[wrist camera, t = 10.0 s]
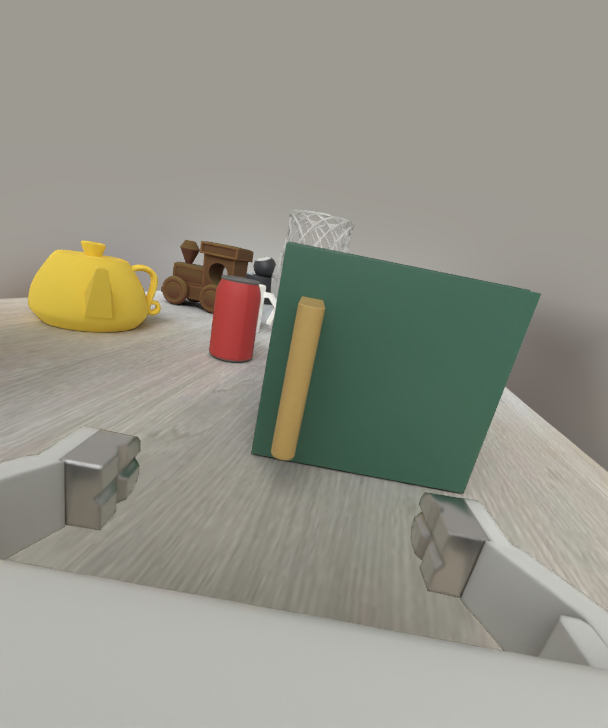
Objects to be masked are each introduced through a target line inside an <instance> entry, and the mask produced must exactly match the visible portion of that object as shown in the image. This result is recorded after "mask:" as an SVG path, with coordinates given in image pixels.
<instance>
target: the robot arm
mask: <svg viewBox="0 0 608 728" xmlns="http://www.w3.org/2000/svg"><path fill="white" fill-rule="evenodd" d="M140 442H141V441H140V439H139V438H138V437H136V436H131V435H126V434H122V433H117V432H112V431H107V430H102V429H98V428H93V427H87V426H84V427H80V428H78V429H77V430H75V431H74V432H72V433H71V434H69V435H68V436H66V437H64V438H63V439H61V440H60V441H58V442H57V443H55V444H54V445H52V446H51V447H49V448H48V449H46V450H45V451H43V452H42V453H40V454H39V455H37V456H35V455H27V456H24V457H20V458H16V459H12V460H8V461H4V462H0V728H608V611H607V610H605V609H604V608H603V607H601V606H600V605H598V604H597V603H596V602H594V601H593V600H591V599H590V598H589V597H587V596H586V595H584V594H583V593H582V592H580V591H579V590H578V589H576V588H575V587H573V586H572V585H571V584H569V583H568V582H566V581H565V580H564V579H562V578H561V577H559V576H558V575H557V574H555V573H554V572H553V571H551V570H550V569H548V568H547V567H546V566H544V565H543V564H541V563H540V562H539V561H537V560H536V559H534V558H533V557H532V556H530V555H529V554H527V553H526V552H525V551H523V550H522V549H521V548H519V547H518V546H513V545H511V543H510V542H509V541H508V539H507V538H506V536H505V535H504V533H503V532H502V531H501V529H500V528H499V526H498V525H497V524H496V522H495V521H494V519H493V518H492V517H491V515H490V514H489V512H488V511H487V510H486V508H485V507H484V505H483V504H482V503H481V502H479V501H477V500H470V499H464V498H456V497H450V496H444V495H438V494H432V493H426V492H425V493H424V494H423V496H422V497H421V500H420V503H419V505H420V508H421V510H422V512H421V513H419V514H418V515H417V516H415V517H414V520H413V524H412V527H411V542H412V547H413V550H414V553H415V554H416V555H417V556H418V557H419V558H420V559H421V560H422V562H421V565H420V567H419V568H420V571H421V574H422V577H423V579H424V582H425V585H426V588H427V591H430V592H435V593H440V594H444V595H449V596H453V597H458V598H461V599H460V600H461V601H462V602H463V603H464V605H465V606H466V607H467V608H468V609H469V611H470V612H471V613H472V614H473V615H474V616H475V618H476V619H477V620H478V621H479V622H480V624H481V625H482V626H483V627H484V628H485V629H486V631H487V632H488V633H489V634H490V635H491V637H492V638H493V639H494V640H495V641H496V642H497V644H498V645H499V646H500V647H501V648H502V650H503V651H502V650H497V649H491V648H485V647H480V646H474V645H468V644H463V643H458V642H452V641H447V640H441V639H436V638H431V637H425V636H420V635H414V634H409V633H403V632H398V631H393V630H387V629H382V628H376V627H371V626H365V625H360V624H355V623H349V622H344V621H338V620H333V619H327V618H322V617H317V616H311V615H306V614H300V613H295V612H289V611H283V610H278V609H272V608H267V607H261V606H256V605H250V604H245V603H239V602H234V601H228V600H223V599H217V598H212V597H206V596H201V595H195V594H190V593H184V592H178V591H173V590H167V589H162V588H157V587H151V586H146V585H140V584H135V583H129V582H124V581H118V580H113V579H107V578H102V577H96V576H91V575H85V574H80V573H74V572H69V571H63V570H58V569H53V568H47V567H42V566H36V565H31V564H25V563H20V562H14V561H9V560H5V559H6V558H8V557H10V556H12V555H14V554H16V553H18V552H19V551H21V550H23V549H25V548H27V547H29V546H30V545H32V544H34V543H36V542H38V541H40V540H42V539H43V538H45V537H47V536H49V535H51V534H53V533H54V532H56V531H58V530H60V529H62V528H64V527H65V525H69V526H76V527H82V528H89V529H95V530H101V529H102V528H103V526H104V525H105V524H106V523H107V522H108V520H109V519H110V518H111V517H112V516H113V514H114V513H115V512H116V504H117V503H119V502H121V501H123V500H126V499H127V497H128V496H129V495H130V494H131V492H132V491H133V488H134V486H135V484H136V482H137V479H138V475H139V464H138V462H137V460H136V459H135V456H136V455H137V454H138V453H139V452H140Z"/></svg>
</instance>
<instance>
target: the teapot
mask: <svg viewBox="0 0 608 728" xmlns="http://www.w3.org/2000/svg"><path fill="white" fill-rule="evenodd" d="M81 245H82V247H83V250H84V252H78V251H69V250H56V251H54V252H53V254H51V255H50V256H49V257H48V259H47V260H46V261H45V262H44V264H43V265H42V266H41V268H40V269H39V270H38V272H37V273H36V275H35V277H34V279H33V281H32V283H31V287H30V290H29V295H28V305H29V307H30V309H31V310H32V311H33V312H34V313H35V314H36V315H37V316H38V317H39V318H40V319H41V320H42V321H43V322H45V323H46V324H49V325H52V326H55V327H59V328H64V329H69V330H77V331H88V332H119V331H127V330H131V329H134V328H136V327H137V326H138V325H139V324H141V323H142V322H143V321H144V320H145V318H146V317H147V315H156V314H158V313H159V312H160V310H161V307H160V304H159V302H157V301H154V300H153V297H154V295H155V292H156V289H157V285H158V279H157V275H156V273H155V272H154V271H153V270H152V269H150V268H149V267H147V266H144V265H134V266H130V264H129V263H128V262H127V261H126V260H123V259H119V258H115V257H110V256H104V255H102V254H103V252H104V250H105V247H106V246H105V245H104V244H101V243H97V242H91V241H81ZM135 271H145V272H147V273H148V274H149V275H150V277H151V284H150V288H149V291H148V293H147V296H146V295H145V292H144V289H143V287H142V285H141V283H140V281H139V279H138V277H137V275H136V274H135ZM152 300H153V301H152ZM151 304H154V305H155V306H156V307H155V309H153V310H151V309H150V306H151Z"/></svg>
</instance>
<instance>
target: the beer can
mask: <svg viewBox="0 0 608 728" xmlns="http://www.w3.org/2000/svg"><path fill="white" fill-rule="evenodd" d="M221 277H222V279H221V281H220V282H219V284H218V286H217V289H216V296H215V304H214V313H213V322H212V331H211V339H210V348H209V351H210V353H211V355H212V356H214V357H215V358H217V359H220V360H223V361H228V362H245V361H248V360H249V359H251V358H252V354H253V348H254V341H255V335H256V328H257V322H258V315H259V309H260V302H261V291H260V287H259V284H260V282H258V281H255V280H251V279H247V278H242V277H236V276H229V275H222V276H221Z"/></svg>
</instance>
